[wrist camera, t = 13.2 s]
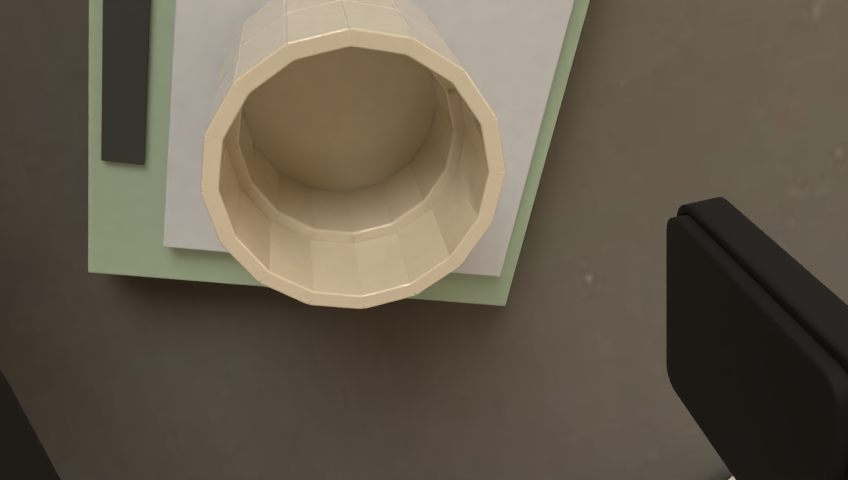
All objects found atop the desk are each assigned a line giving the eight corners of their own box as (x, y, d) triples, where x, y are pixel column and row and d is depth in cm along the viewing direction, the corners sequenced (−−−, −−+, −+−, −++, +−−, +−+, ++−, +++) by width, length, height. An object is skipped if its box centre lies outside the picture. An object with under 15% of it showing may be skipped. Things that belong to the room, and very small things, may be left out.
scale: (100, 243, 27) (83, 282, 25) (105, -226, 21) (83, -230, 19) (492, 278, 30) (509, 316, 28) (597, -120, 24) (630, -113, 22)
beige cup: (211, 191, 24) (192, 296, 19) (230, -43, 21) (213, 6, 16) (430, 214, 26) (468, 318, 20) (476, -1, 22) (535, 57, 17)
